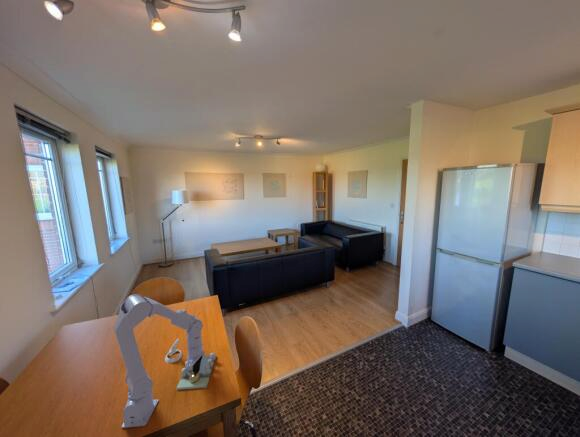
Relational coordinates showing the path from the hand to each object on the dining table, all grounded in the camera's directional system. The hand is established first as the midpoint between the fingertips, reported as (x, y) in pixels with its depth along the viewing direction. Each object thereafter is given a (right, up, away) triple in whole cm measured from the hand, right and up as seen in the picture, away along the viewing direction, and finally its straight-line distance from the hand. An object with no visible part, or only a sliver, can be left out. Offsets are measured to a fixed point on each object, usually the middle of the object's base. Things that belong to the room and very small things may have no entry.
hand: (196, 371), depth 97 cm
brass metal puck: (0, -1, -3) cm, 3 cm away
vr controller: (-16, -1, +11) cm, 20 cm away
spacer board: (0, -2, +2) cm, 3 cm away
